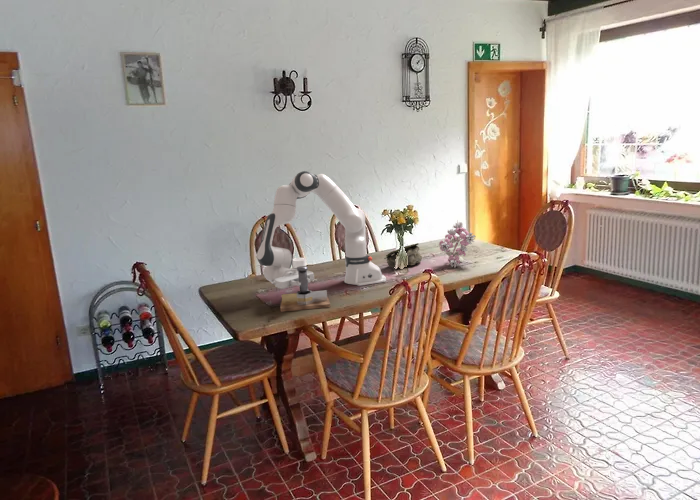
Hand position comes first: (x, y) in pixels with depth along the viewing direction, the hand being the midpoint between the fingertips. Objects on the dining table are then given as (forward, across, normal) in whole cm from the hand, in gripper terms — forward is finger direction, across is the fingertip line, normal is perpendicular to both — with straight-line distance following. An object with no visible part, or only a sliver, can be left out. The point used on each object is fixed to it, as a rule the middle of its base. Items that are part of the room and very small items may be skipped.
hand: (304, 282), depth 248 cm
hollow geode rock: (-12, +82, +12) cm, 84 cm away
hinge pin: (-1, 0, +9) cm, 9 cm away
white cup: (-44, +30, +12) cm, 55 cm away
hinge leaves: (-1, 0, +10) cm, 10 cm away
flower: (+11, +101, +12) cm, 103 cm away
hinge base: (-1, 0, +12) cm, 12 cm away
